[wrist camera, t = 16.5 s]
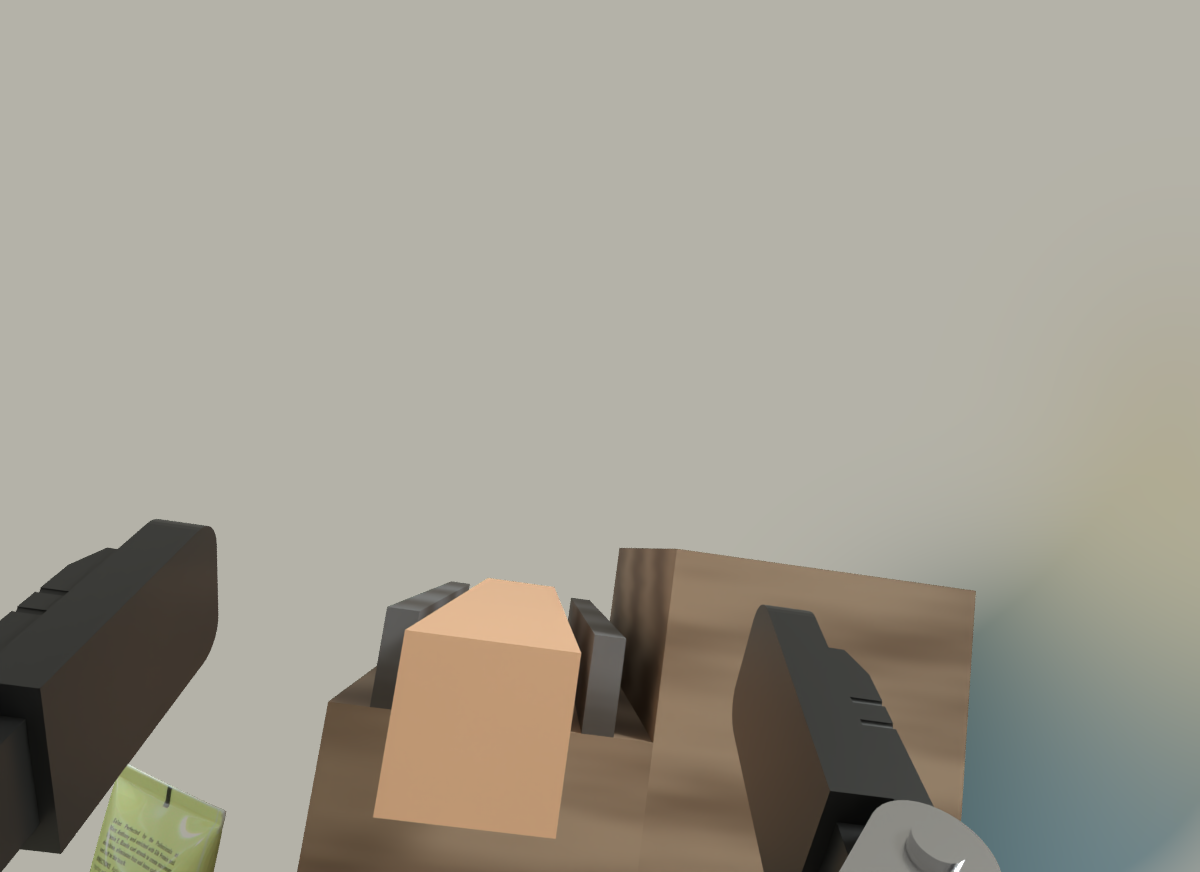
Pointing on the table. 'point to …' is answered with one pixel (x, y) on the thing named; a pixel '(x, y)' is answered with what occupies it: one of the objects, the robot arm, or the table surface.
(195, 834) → the tube
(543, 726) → the bar
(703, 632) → the wooden knife block
